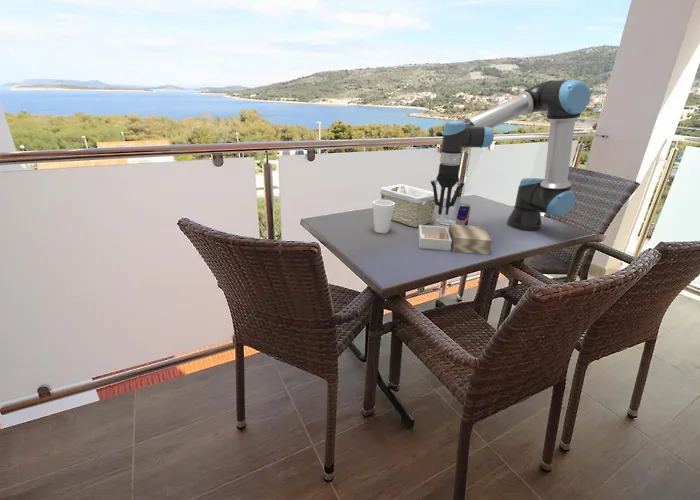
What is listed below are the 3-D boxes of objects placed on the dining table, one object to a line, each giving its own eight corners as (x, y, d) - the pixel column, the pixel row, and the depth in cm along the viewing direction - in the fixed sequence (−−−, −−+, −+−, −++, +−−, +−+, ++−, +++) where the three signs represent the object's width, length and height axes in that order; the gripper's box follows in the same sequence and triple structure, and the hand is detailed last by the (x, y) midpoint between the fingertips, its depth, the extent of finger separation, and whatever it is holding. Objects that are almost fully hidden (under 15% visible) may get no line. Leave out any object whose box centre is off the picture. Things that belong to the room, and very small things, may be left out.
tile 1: (424, 233, 157) (424, 238, 158) (425, 238, 152) (424, 242, 153) (437, 234, 156) (436, 239, 157) (437, 239, 152) (437, 243, 153)
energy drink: (460, 232, 168) (464, 207, 163) (452, 228, 172) (456, 203, 168) (469, 231, 170) (473, 205, 166) (460, 227, 175) (465, 202, 170)
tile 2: (444, 229, 155) (439, 228, 155) (445, 233, 150) (440, 232, 150) (442, 240, 157) (438, 239, 157) (443, 244, 152) (438, 244, 152)
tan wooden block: (480, 239, 161) (483, 226, 158) (488, 254, 146) (491, 240, 144) (447, 237, 162) (450, 224, 160) (452, 251, 147) (454, 237, 145)
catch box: (445, 236, 162) (447, 227, 160) (450, 251, 147) (451, 240, 146) (417, 234, 163) (419, 224, 161) (419, 248, 149) (420, 238, 147)
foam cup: (395, 229, 168) (397, 201, 163) (388, 236, 160) (390, 207, 155) (375, 225, 171) (377, 198, 166) (367, 232, 164) (369, 203, 158)
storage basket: (376, 216, 185) (379, 186, 180) (398, 210, 196) (400, 182, 190) (414, 229, 169) (418, 198, 164) (435, 222, 180) (439, 193, 174)
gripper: (433, 164, 139) (426, 223, 149) (468, 166, 138) (459, 226, 147) (431, 161, 146) (425, 218, 156) (465, 162, 145) (456, 220, 154)
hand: (441, 221), depth 152 cm, fingers closed
